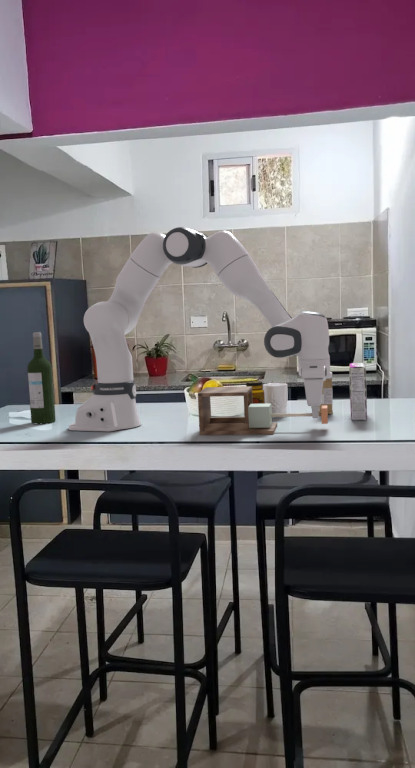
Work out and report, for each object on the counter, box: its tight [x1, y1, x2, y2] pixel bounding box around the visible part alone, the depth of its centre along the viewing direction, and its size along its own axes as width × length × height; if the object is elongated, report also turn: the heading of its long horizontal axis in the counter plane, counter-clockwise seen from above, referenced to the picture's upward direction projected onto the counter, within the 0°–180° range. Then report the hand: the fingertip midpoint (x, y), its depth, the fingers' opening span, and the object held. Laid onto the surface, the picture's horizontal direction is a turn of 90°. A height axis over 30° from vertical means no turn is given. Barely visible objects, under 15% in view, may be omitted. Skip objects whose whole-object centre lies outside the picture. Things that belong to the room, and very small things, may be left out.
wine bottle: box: [26, 331, 56, 425], centre depth 232 cm, size 8×8×30 cm
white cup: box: [263, 382, 288, 414], centre depth 226 cm, size 8×8×10 cm
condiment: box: [245, 380, 265, 417], centre depth 220 cm, size 7×8×12 cm
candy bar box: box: [348, 362, 368, 421], centre depth 214 cm, size 11×5×16 cm, turn 168°
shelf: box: [197, 386, 278, 436], centre depth 202 cm, size 21×13×12 cm, turn 80°
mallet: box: [248, 403, 329, 428], centre depth 200 cm, size 22×6×6 cm, turn 80°
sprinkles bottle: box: [319, 371, 334, 415], centre depth 224 cm, size 5×5×14 cm
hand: (315, 417), depth 199 cm, fingers closed on mallet
